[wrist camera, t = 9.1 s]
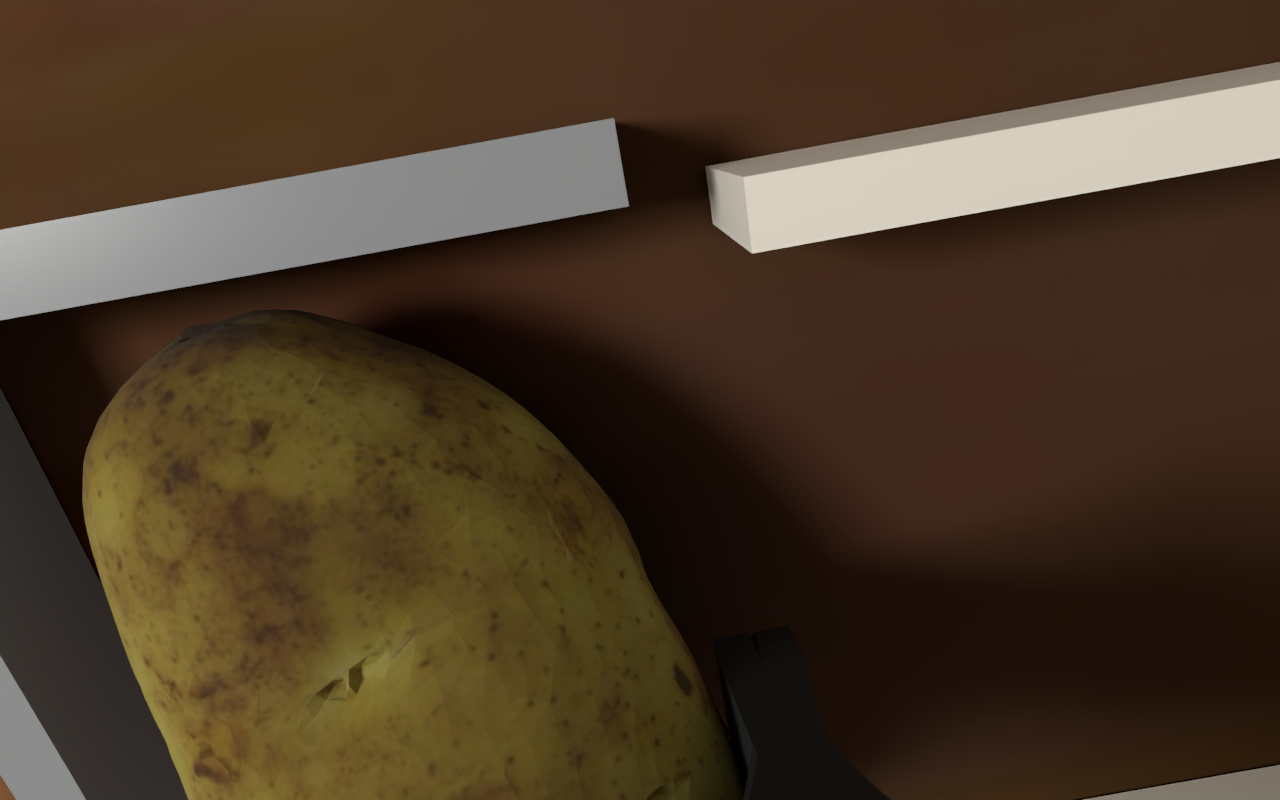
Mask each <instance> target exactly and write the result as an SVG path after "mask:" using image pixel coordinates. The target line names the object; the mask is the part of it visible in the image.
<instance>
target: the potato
mask: <svg viewBox="0 0 1280 800" xmlns="http://www.w3.org/2000/svg"><path fill="white" fill-rule="evenodd" d="M82 503H83V511H84V519H85V525H86V529H87V533H88V537H89V542H90V546H91V549H92V553H93V556H94V559H95V562H96V566H97V569H98V572H99V575H100V579H101V582H102V585H103V588H104V591H105V594H106V596H107V599H108V602H109V605H110V608H111V611H112V614H113V617H114V620H115V623H116V625H117V628H118V631H119V634H120V637H121V640H122V643H123V646H124V648H125V651H126V654H127V656H128V659H129V662H130V664H131V667H132V670H133V672H134V674H135V676H136V678H137V680H138V683H139V685H140V687H141V690H142V692H143V695H144V698H145V700H146V702H147V704H148V706H149V708H150V711H151V713H152V715H153V717H154V719H155V721H156V723H157V725H158V727H159V729H160V731H161V733H162V735H163V737H164V739H165V741H166V744H167V746H168V749H169V752H170V755H171V758H172V760H173V763H174V765H175V767H176V769H177V772H178V774H179V776H180V779H181V782H182V784H183V787H184V789H185V792H186V795H187V797H188V800H743V798H744V793H745V787H744V784H743V780H742V777H741V773H740V770H739V767H738V763H737V760H736V757H735V754H734V750H733V747H732V744H731V742H730V740H729V738H728V736H729V733H730V732H729V730H728V729H727V727H726V725H725V723H724V722H723V720H722V718H721V717H720V715H719V713H718V711H717V709H716V707H715V704H714V702H713V700H712V698H711V696H710V694H709V691H708V689H707V687H706V684H705V682H704V680H703V678H702V675H701V673H700V671H699V669H698V667H697V665H696V663H695V661H694V659H693V657H692V654H691V652H690V651H689V649H688V647H687V645H686V644H685V642H684V640H683V638H682V637H681V635H680V633H679V631H678V630H677V628H676V627H675V625H674V623H673V622H672V620H671V619H670V617H669V615H668V614H667V612H666V610H665V609H664V607H663V605H662V604H661V602H660V600H659V599H658V597H657V595H656V593H655V591H654V590H653V588H652V586H651V584H650V582H649V580H648V578H647V576H646V573H645V570H644V568H643V564H642V561H641V558H640V554H639V552H638V550H637V547H636V545H635V543H634V540H633V538H632V536H631V533H630V531H629V529H628V527H627V525H626V523H625V521H624V519H623V518H622V516H621V514H620V513H619V511H618V509H617V508H616V506H615V504H614V502H613V501H612V500H611V499H610V498H609V497H608V495H607V494H606V493H605V492H604V491H603V490H602V488H601V487H600V486H599V485H598V484H597V482H596V481H595V480H594V479H593V477H592V476H591V475H590V474H589V473H588V472H587V470H586V469H585V468H584V467H583V466H582V465H581V464H580V463H579V462H578V460H577V459H576V458H575V457H574V456H573V455H572V454H571V453H570V452H569V451H568V450H567V448H566V447H565V446H564V445H563V444H562V443H561V442H560V441H559V440H558V439H557V438H556V437H555V436H554V435H553V434H552V433H551V432H550V431H549V430H548V429H547V428H546V427H545V426H544V425H542V424H541V423H540V422H539V421H538V420H537V419H536V418H535V417H534V416H533V415H532V414H530V413H529V412H528V411H527V410H526V409H524V408H523V407H522V406H521V405H519V404H518V403H517V402H515V401H514V400H513V399H512V398H510V397H509V396H508V395H506V394H505V393H503V392H502V391H500V390H499V389H497V388H495V387H494V386H492V385H491V384H489V383H488V382H486V381H485V380H483V379H482V378H480V377H478V376H476V375H474V374H472V373H471V372H469V371H467V370H465V369H463V368H461V367H460V366H458V365H456V364H454V363H452V362H450V361H448V360H445V359H443V358H441V357H439V356H437V355H434V354H432V353H430V352H428V351H426V350H423V349H421V348H418V347H415V346H412V345H409V344H406V343H403V342H400V341H397V340H394V339H391V338H389V337H386V336H383V335H381V334H378V333H375V332H373V331H370V330H367V329H365V328H362V327H360V326H357V325H354V324H351V323H347V322H344V321H340V320H336V319H332V318H329V317H325V316H321V315H317V314H313V313H309V312H303V311H296V310H264V311H253V312H249V313H245V314H242V315H239V316H235V317H232V318H228V319H225V320H222V321H218V322H215V323H209V324H204V325H198V326H192V327H188V328H186V329H185V330H184V332H183V333H182V334H181V335H180V336H179V337H178V338H176V339H175V340H173V341H172V342H170V343H169V344H168V345H167V346H165V347H164V348H163V349H162V350H160V351H159V352H158V353H157V354H156V355H154V356H153V357H152V358H151V359H149V360H148V361H147V362H146V363H145V364H144V365H143V366H142V367H141V368H140V369H139V370H138V371H137V372H136V373H135V374H134V375H133V376H132V377H131V378H130V379H129V380H128V381H127V382H126V383H125V384H124V385H123V386H122V387H121V388H120V389H119V390H118V392H117V393H116V395H115V396H114V397H113V399H112V400H111V402H110V403H109V405H108V406H107V407H106V409H105V410H104V412H103V413H102V415H101V416H100V417H99V420H98V422H97V424H96V427H95V429H94V432H93V434H92V437H91V439H90V442H89V444H88V446H87V449H86V453H85V458H84V462H83V488H82Z"/></svg>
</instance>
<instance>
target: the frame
mask: <svg viewBox="0 0 1280 800" xmlns="http://www.w3.org/2000/svg"><path fill="white" fill-rule="evenodd" d="M628 206H629V203H628V197H627V191H626V185H625V180H624V174H623V168H622V162H621V156H620V150H619V144H618V139H617V133H616V127H615V121H614V118H612V119H606V120H601V121H595V122H590V123H584V124H579V125H573V126H568V127H562V128H557V129H551V130H546V131H540V132H535V133H529V134H524V135H518V136H513V137H507V138H502V139H497V140H491V141H486V142H480V143H475V144H469V145H464V146H458V147H453V148H447V149H442V150H436V151H431V152H425V153H420V154H414V155H409V156H403V157H398V158H392V159H387V160H381V161H376V162H370V163H365V164H359V165H354V166H348V167H343V168H337V169H332V170H326V171H321V172H315V173H310V174H304V175H299V176H293V177H288V178H282V179H277V180H272V181H266V182H261V183H255V184H250V185H244V186H239V187H233V188H228V189H222V190H217V191H211V192H206V193H200V194H195V195H189V196H184V197H178V198H173V199H167V200H162V201H156V202H151V203H145V204H140V205H134V206H129V207H123V208H118V209H112V210H107V211H101V212H96V213H90V214H85V215H79V216H74V217H68V218H63V219H57V220H52V221H47V222H41V223H36V224H30V225H25V226H19V227H14V228H8V229H3V230H0V320H6V319H11V318H17V317H22V316H28V315H33V314H39V313H44V312H50V311H55V310H61V309H66V308H72V307H77V306H83V305H88V304H94V303H99V302H105V301H110V300H116V299H121V298H127V297H132V296H138V295H143V294H149V293H155V292H160V291H166V290H171V289H177V288H182V287H188V286H193V285H199V284H204V283H210V282H215V281H221V280H226V279H232V278H237V277H243V276H248V275H254V274H259V273H265V272H270V271H276V270H281V269H287V268H292V267H298V266H303V265H309V264H314V263H320V262H325V261H331V260H336V259H342V258H347V257H353V256H358V255H364V254H369V253H375V252H380V251H386V250H391V249H397V248H402V247H408V246H413V245H419V244H424V243H430V242H435V241H441V240H446V239H452V238H457V237H463V236H468V235H474V234H479V233H485V232H490V231H496V230H501V229H507V228H513V227H518V226H524V225H529V224H535V223H540V222H546V221H551V220H557V219H562V218H568V217H573V216H579V215H584V214H590V213H595V212H601V211H606V210H612V209H617V208H623V207H628ZM0 775H1V777H2V778H3V780H4V781H5V783H6V784H7V786H8V788H9V789H10V791H11V792H12V794H13V795H14V797H15V798H16V800H188V797H187V795H186V792H185V789H184V787H183V784H182V782H181V779H180V776H179V774H178V772H177V769H176V767H175V765H174V763H173V760H172V758H171V755H170V752H169V749H168V746H167V744H166V741H165V739H164V737H163V735H162V733H161V731H160V729H159V727H158V725H157V723H156V721H155V719H154V717H153V715H152V713H151V711H150V708H149V706H148V704H147V702H146V700H145V698H144V695H143V692H142V690H141V687H140V685H139V683H138V680H137V678H136V676H135V674H134V672H133V670H132V667H131V664H130V662H129V659H128V656H127V654H126V651H125V648H124V646H123V643H122V640H121V637H120V634H119V631H118V628H117V625H116V623H115V620H114V617H113V614H112V611H111V608H110V605H109V602H108V599H107V596H106V594H105V591H104V589H103V587H102V585H101V583H100V581H99V579H98V577H97V575H96V573H95V571H94V569H93V567H92V565H91V563H90V561H89V559H88V557H87V556H86V554H85V552H84V550H83V548H82V546H81V544H80V542H79V540H78V538H77V536H76V534H75V532H74V530H73V528H72V526H71V524H70V522H69V520H68V518H67V517H66V515H65V513H64V511H63V509H62V507H61V505H60V503H59V501H58V499H57V497H56V495H55V493H54V491H53V489H52V487H51V485H50V483H49V481H48V479H47V478H46V476H45V474H44V472H43V470H42V468H41V466H40V464H39V462H38V460H37V458H36V456H35V454H34V452H33V450H32V448H31V446H30V444H29V442H28V441H27V439H26V437H25V435H24V433H23V431H22V429H21V427H20V425H19V423H18V421H17V419H16V417H15V415H14V413H13V411H12V409H11V407H10V405H9V403H8V402H7V400H6V398H5V396H4V394H3V392H2V390H1V388H0Z"/></svg>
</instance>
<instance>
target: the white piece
mask: <svg viewBox="0 0 1280 800" xmlns="http://www.w3.org/2000/svg"><path fill="white" fill-rule="evenodd" d="M1277 158H1280V62H1277V63H1271V64H1266V65H1260V66H1255V67H1249V68H1244V69H1238V70H1233V71H1227V72H1222V73H1216V74H1211V75H1205V76H1200V77H1194V78H1189V79H1183V80H1178V81H1172V82H1167V83H1161V84H1156V85H1150V86H1145V87H1139V88H1134V89H1128V90H1123V91H1117V92H1112V93H1106V94H1101V95H1095V96H1090V97H1084V98H1079V99H1073V100H1068V101H1062V102H1057V103H1051V104H1046V105H1040V106H1035V107H1029V108H1024V109H1018V110H1013V111H1007V112H1002V113H996V114H991V115H985V116H980V117H974V118H969V119H963V120H958V121H952V122H947V123H941V124H936V125H930V126H925V127H919V128H914V129H908V130H903V131H897V132H892V133H886V134H881V135H875V136H870V137H864V138H859V139H853V140H848V141H842V142H837V143H831V144H826V145H820V146H815V147H809V148H804V149H798V150H793V151H787V152H782V153H776V154H771V155H765V156H760V157H754V158H749V159H743V160H738V161H732V162H727V163H721V164H716V165H710V166H705V169H706V176H707V184H708V191H709V199H710V207H711V214H712V222H713V224H714V225H715V226H716V227H718V228H719V229H720V230H722V231H723V232H724V233H726V234H727V235H728V236H730V237H731V238H732V239H733V240H735V241H736V242H737V243H739V244H740V245H741V246H743V247H744V248H745V249H747V250H748V251H749V252H751V253H752V254H753V253H758V252H764V251H769V250H775V249H780V248H786V247H791V246H797V245H802V244H808V243H813V242H819V241H824V240H830V239H835V238H841V237H846V236H852V235H858V234H863V233H869V232H874V231H880V230H885V229H891V228H896V227H902V226H907V225H913V224H918V223H924V222H929V221H935V220H940V219H946V218H951V217H957V216H962V215H968V214H974V213H979V212H985V211H990V210H996V209H1001V208H1007V207H1012V206H1018V205H1023V204H1029V203H1034V202H1040V201H1045V200H1051V199H1056V198H1062V197H1067V196H1073V195H1078V194H1084V193H1090V192H1095V191H1101V190H1106V189H1112V188H1117V187H1123V186H1128V185H1134V184H1139V183H1145V182H1150V181H1156V180H1161V179H1167V178H1172V177H1178V176H1183V175H1189V174H1194V173H1200V172H1205V171H1211V170H1217V169H1222V168H1228V167H1233V166H1239V165H1244V164H1250V163H1255V162H1261V161H1266V160H1272V159H1277ZM1083 800H1280V765H1276V766H1270V767H1264V768H1259V769H1253V770H1247V771H1242V772H1236V773H1230V774H1225V775H1219V776H1213V777H1208V778H1202V779H1196V780H1191V781H1185V782H1179V783H1174V784H1168V785H1163V786H1157V787H1151V788H1146V789H1140V790H1134V791H1129V792H1123V793H1117V794H1112V795H1106V796H1100V797H1095V798H1089V799H1083Z"/></svg>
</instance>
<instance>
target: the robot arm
mask: <svg viewBox="0 0 1280 800" xmlns="http://www.w3.org/2000/svg"><path fill="white" fill-rule="evenodd" d="M714 644H715V650H716V656H717V662H718V668H719V675H720V681H721V687H722V693H723V700H724V706H725V712H726V718H727V725H728V729H729V732H730V733H729V734H730V739H731V744H732V747H733V750H734V754H735V757H736V760H737V763H738V767H739V770H740V773H741V777H742V780H743V784H744V787H745V793H744V798H743V800H890V799H889V798H888V797H887V796H885V795H884V794H883V793H882V792H881V791H880V790H879V789H877V788H876V787H875V786H874V785H873V784H872V783H871V782H870V781H869V780H868V779H867V778H866V777H865V776H864V775H863V774H861V773H860V772H859V771H858V770H857V769H856V768H855V767H854V766H853V765H852V764H851V763H850V762H849V761H848V760H847V759H846V758H845V757H844V756H843V755H842V754H841V753H840V752H839V750H838V749H837V748H836V747H835V746H834V745H833V744H832V743H831V742H830V741H829V740H828V739H827V737H826V736H825V732H824V729H823V725H822V722H821V718H820V715H819V711H818V707H817V704H816V700H815V697H814V693H813V690H812V686H811V683H810V679H809V676H808V672H807V669H806V665H805V662H804V658H803V655H802V652H801V650H800V648H799V646H798V644H797V642H796V639H795V638H794V636H793V634H792V632H791V630H790V629H789V627H788V626H785V627H780V628H774V629H768V630H762V631H756V632H755V633H754V634H753V635H752V636H750V635H748V634H747V633H745V634H739V635H733V636H728V637H722V638H716V639H714Z"/></svg>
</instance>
